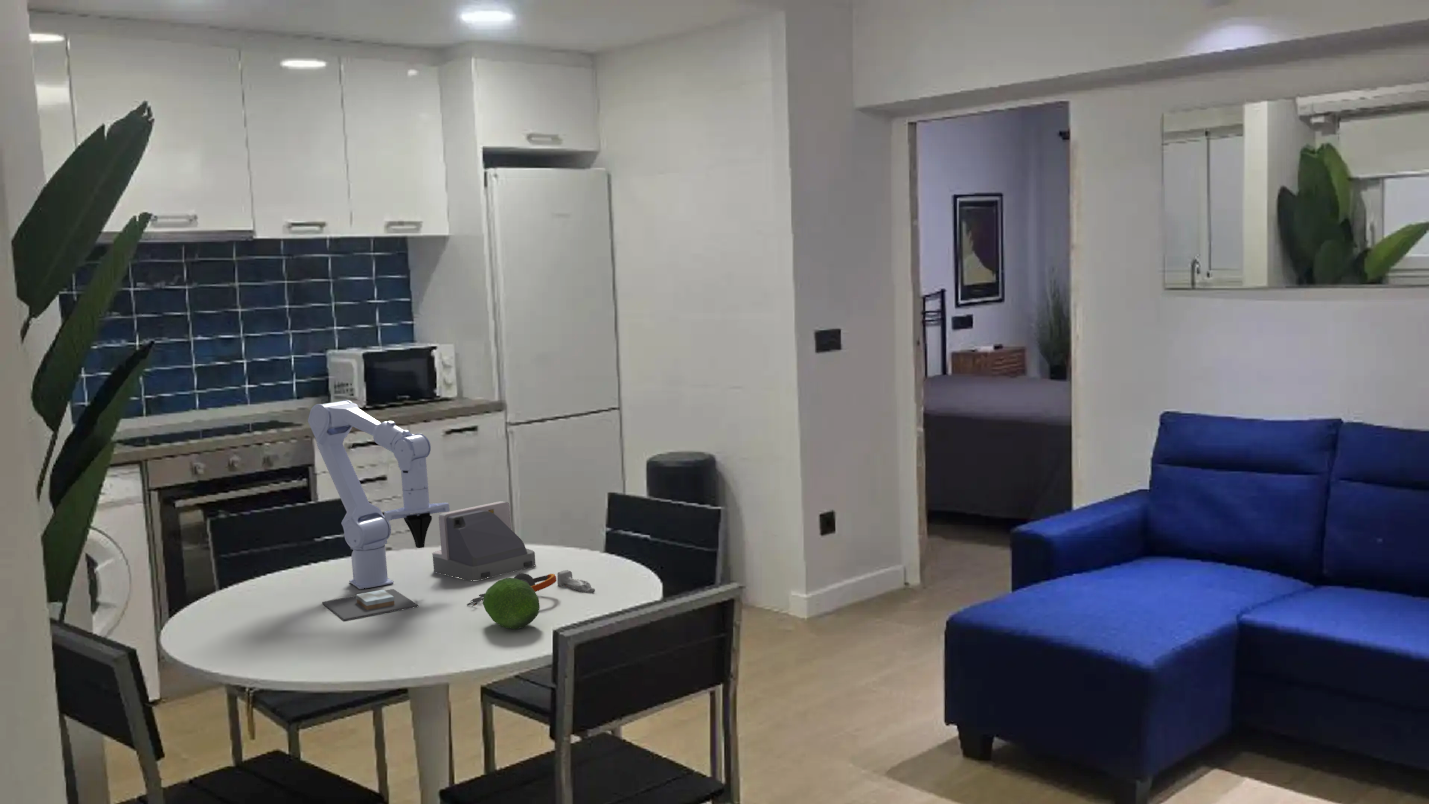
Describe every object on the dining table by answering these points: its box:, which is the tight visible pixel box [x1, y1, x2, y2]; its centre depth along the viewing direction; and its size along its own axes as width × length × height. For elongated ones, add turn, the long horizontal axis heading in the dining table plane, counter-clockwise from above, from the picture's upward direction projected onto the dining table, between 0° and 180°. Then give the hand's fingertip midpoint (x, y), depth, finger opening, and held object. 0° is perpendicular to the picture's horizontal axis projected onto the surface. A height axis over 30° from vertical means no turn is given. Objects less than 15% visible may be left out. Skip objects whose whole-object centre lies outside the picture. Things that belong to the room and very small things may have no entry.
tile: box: [355, 589, 395, 610], centre depth 271 cm, size 8×2×6 cm
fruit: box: [482, 577, 541, 630], centre depth 249 cm, size 15×10×10 cm, turn 33°
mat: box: [322, 588, 419, 622], centre depth 272 cm, size 18×16×1 cm
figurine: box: [556, 569, 596, 594], centre depth 276 cm, size 4×12×4 cm, turn 40°
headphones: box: [466, 572, 557, 608], centre depth 269 cm, size 17×5×20 cm
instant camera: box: [431, 500, 536, 582], centre depth 300 cm, size 21×21×15 cm
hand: (420, 547), depth 282 cm, fingers closed
